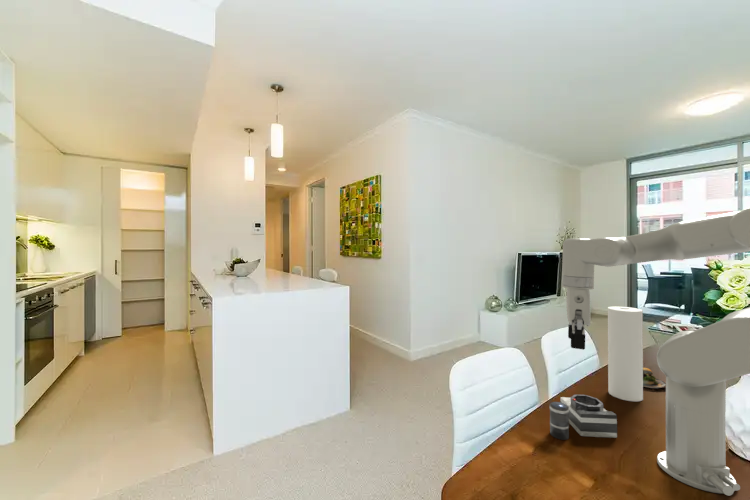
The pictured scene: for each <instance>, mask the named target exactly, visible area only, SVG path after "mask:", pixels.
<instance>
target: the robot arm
mask: <svg viewBox="0 0 750 500" xmlns="http://www.w3.org/2000/svg"><path fill="white" fill-rule="evenodd" d="M749 252H750V206H747V207H745V208H743V209H741V210H737V211H733V212H727V213H721V214H717V215H711V216H707V217H701V218H696V219H690V220H683V221H679V222H675V223H673V224H670V225H668V226H666V227H664V228H660V229H657V230H654V231H649V232H648V231H647V232H644V233H639V234H634V235H633V234H632V235H626V236H620V237H618V236H617V237H614V236H613V237H612V236H610V237H609V236H608V237H607V236H606V237H598V238H585V237H584V238H581V237H578V238H577V237H576V238H570V237H569V238H566V239H564V241H563V243H562V269H561V287H562V288H564V289H566V315H567V321H568V323H569V324H568V328H567V329H568V332H567V333H568V335H567V336H568V339H569V340H570V348H571V349H577V350H585V349H586V334H585V333H586V331H585V325H586V327H590V326H591V295H590V294H591V292H590V290H594V286H595V284H594V283H595V266H600V267H607V268H609V267H611V268H612V267H618V266H625V265H632V264H641V263H647V262H656V261H665V260H666V261H667V260H678V261H679V260H690V259H691V260H692V259H698V258H706V257H714V256H715V257H716V256H723V255H731V254H732V255H733V254H741V253H749ZM660 345H661V346H659V348H658V350H657V354H656V362H657V366H658V368H659V370H660V371H661V372H662V373H663V374H664V376H665V383H666V389H665V450H664V451H662V452H659V453H658V454H657V455H656V456H657V457H656V461H657V462H656V463H657V464H658V466H659V468H661V469H662V471H664V472H665V473H667V474H668V475H669V476H670V477H673V479H675V480H677V481H678V482H680V483H683V484H685V485H687V486H690V487H693V488H695V489H698V490H702V491H705V492H710V493H714V494H724V495H726V496H727V497H728V496H732V495H734V492H735V491H740V490H741V486H740V484H739V483H737V481H736V478H735V477H734V476H733V475H732V474H731V473H730V471H731V470H730V468H729V467H728V466H726V465H727V464H726V463H727V462H726V461H727V460H726V457H727V456H726V448H727V447H726V445H727V444H726V442H727V441H726V440H727V439H726V411H727V409H726V405H727V404H726V399H727V398H726V397H727V394H726V392H727V388H726V387H727V381H729V380H732V379H733V380H734V379H735V378H739V377H742V376H743V377H744V376H746V375H750V306H748V307H746V308H743V309H740V310H739V309H738V310H735V311H733V312H732V311H731V312H730V313H728V314H727V315H725V316H724V317H723V318H722V319H721V320H719V321H716V322H715V323H711V324H709V325H707V326H704V327H701V328H699V329H697V330H682V331H679V332H676V333H675V334H673V335H671V336H670V337H669V338H668V339H667V340H666V341H664V342H663V343H662V344H660Z"/></svg>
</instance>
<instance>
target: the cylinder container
mask: <svg viewBox="0 0 750 500" xmlns="http://www.w3.org/2000/svg"><path fill="white" fill-rule="evenodd" d="M643 323H644V322H643V309H641V308H636V307H631V306H618V305H617V306H608V307H607V354H608V355H607V373H608V374H607V378H608V380H607V381H608V382H607V384H608V385H607V386H608V388H607V389H608V394H609V395H611V396H612V397H614V398H617V399H619V400H623V401H628V402H641V401H644V386H643V368H644V353H643V352H644V347H643V346H644V345H643V343H644V340H643V339H644V337H643V335H644V334H643V331H644V330H643V326H644V324H643Z"/></svg>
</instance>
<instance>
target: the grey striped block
mask: <svg viewBox="0 0 750 500" xmlns="http://www.w3.org/2000/svg"><path fill="white" fill-rule="evenodd" d="M559 402H561V403H564V404H566V405H567V406H568V407H569V425H570V426H571V427H572V428H573V429H574V430H575V431H576V433H577V434H579V436H581V437H590V438H591V437H595V438H610V439H611V438H614V439H615V438H616V439H617V438H618V421H617V420H618V415H617V414H616V413H614V411H609V410H606V408H604V403H603V401H601V400H600V399H598V398H597V397H593V396H590V395H587V394H573V395H572V396H570V397H565V396H562V397H561V396H560V401H559Z"/></svg>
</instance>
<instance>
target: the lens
mask: <svg viewBox="0 0 750 500" xmlns="http://www.w3.org/2000/svg"><path fill="white" fill-rule="evenodd" d="M569 428H570V423H569V407H568V406H567V405H566V404H564V403H561V402H560V401H551V402H550V403H549V431H550V432H549V434H550V435H551V436H552V437H553V438H554V439H557V440H562V441H563V440H569V438H570V432H569V431H570V430H569Z"/></svg>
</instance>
